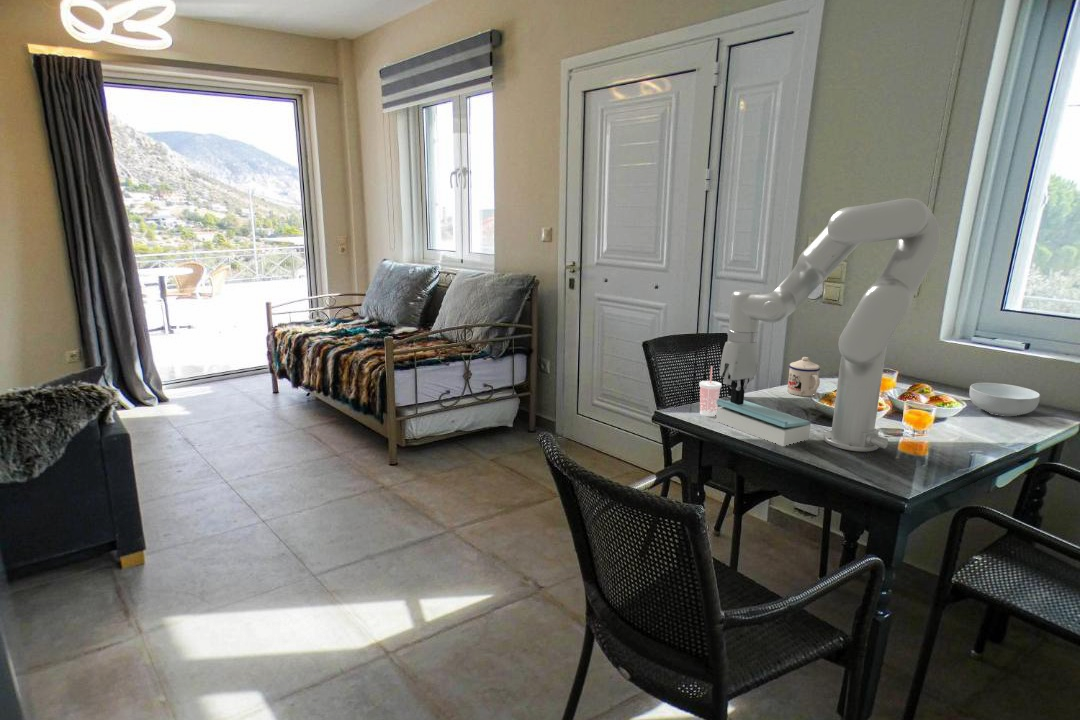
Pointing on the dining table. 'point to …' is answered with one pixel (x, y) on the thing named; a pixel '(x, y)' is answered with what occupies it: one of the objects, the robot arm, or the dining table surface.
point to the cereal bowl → (1003, 398)
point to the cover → (764, 413)
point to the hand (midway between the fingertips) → (736, 402)
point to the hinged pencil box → (762, 427)
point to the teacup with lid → (803, 377)
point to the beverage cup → (709, 396)
